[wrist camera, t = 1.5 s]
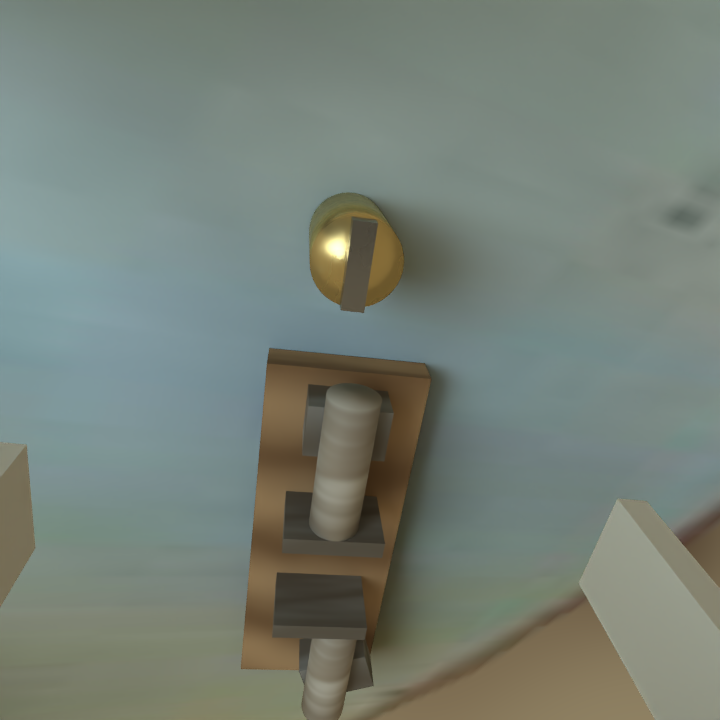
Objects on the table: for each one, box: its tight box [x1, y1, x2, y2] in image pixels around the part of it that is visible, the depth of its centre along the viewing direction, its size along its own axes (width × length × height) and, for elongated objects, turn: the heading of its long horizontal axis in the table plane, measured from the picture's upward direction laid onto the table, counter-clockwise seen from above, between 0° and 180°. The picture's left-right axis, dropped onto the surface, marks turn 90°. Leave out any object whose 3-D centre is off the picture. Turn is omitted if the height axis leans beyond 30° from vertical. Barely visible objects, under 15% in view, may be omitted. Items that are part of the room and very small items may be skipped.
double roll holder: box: [241, 348, 431, 720], centre depth 34 cm, size 24×9×6 cm, turn 172°
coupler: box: [309, 193, 404, 313], centre depth 26 cm, size 4×4×7 cm
